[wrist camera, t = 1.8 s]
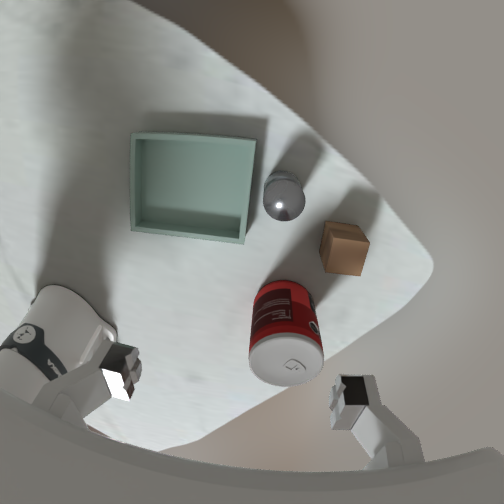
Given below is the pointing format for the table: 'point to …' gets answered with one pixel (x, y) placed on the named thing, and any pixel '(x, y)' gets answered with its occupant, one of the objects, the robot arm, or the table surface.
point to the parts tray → (191, 185)
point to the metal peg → (283, 196)
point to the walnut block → (343, 248)
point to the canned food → (285, 335)
